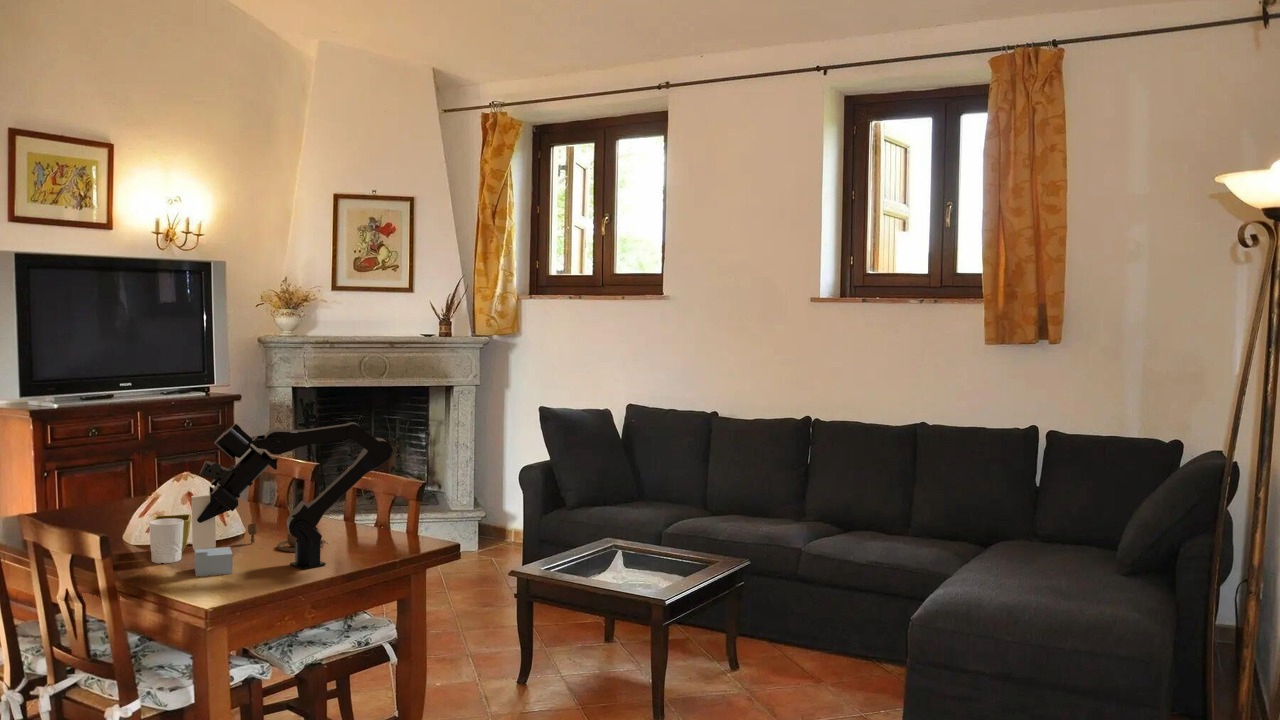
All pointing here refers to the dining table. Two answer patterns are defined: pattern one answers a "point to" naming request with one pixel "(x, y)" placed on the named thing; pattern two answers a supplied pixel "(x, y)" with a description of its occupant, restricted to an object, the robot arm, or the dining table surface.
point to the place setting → (290, 540)
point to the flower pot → (185, 528)
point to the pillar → (202, 524)
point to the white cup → (166, 540)
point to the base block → (213, 561)
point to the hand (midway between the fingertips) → (198, 519)
